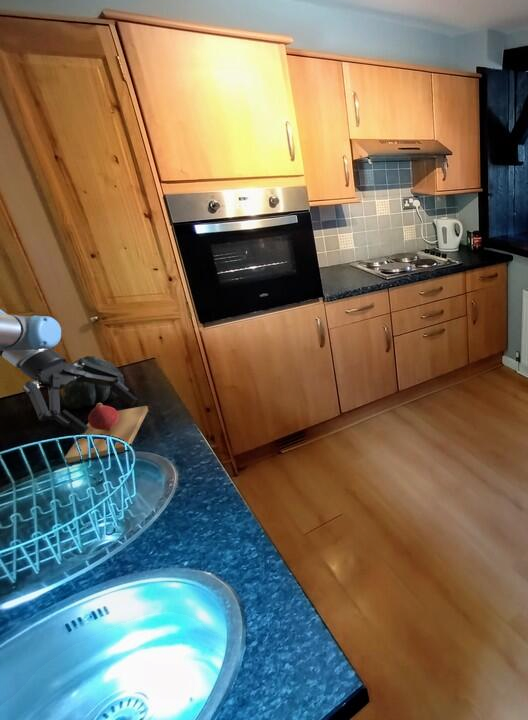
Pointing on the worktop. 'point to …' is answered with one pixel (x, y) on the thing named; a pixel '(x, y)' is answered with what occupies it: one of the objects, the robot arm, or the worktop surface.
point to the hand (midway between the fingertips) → (111, 415)
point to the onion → (103, 417)
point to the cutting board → (111, 434)
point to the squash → (88, 388)
